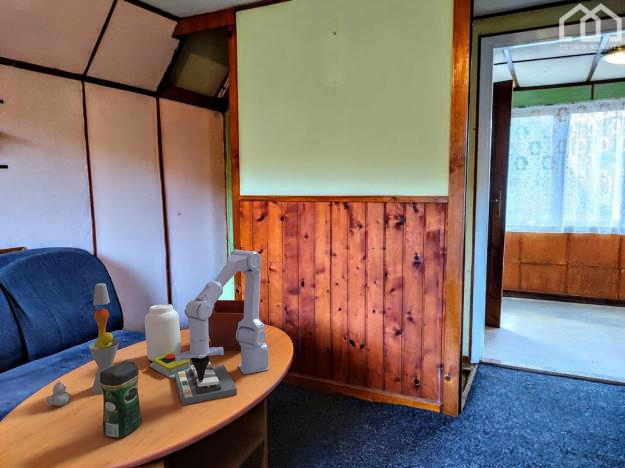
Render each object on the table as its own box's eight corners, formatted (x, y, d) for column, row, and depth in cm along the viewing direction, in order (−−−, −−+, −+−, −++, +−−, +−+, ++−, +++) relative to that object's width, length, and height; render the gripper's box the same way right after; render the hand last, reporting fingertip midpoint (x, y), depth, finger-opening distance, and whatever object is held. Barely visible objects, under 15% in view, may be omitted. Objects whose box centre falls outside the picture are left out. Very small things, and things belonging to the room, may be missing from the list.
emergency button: (171, 347, 163) (194, 358, 154) (171, 358, 164) (195, 370, 155) (148, 354, 156) (172, 367, 147) (149, 366, 157) (172, 379, 147)
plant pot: (251, 354, 170) (250, 312, 168) (203, 353, 170) (202, 312, 168) (258, 337, 189) (257, 299, 187) (215, 336, 189) (214, 299, 187)
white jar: (161, 364, 158) (157, 310, 156) (140, 359, 165) (136, 307, 163) (188, 353, 168) (184, 303, 167) (168, 349, 175) (164, 301, 174)
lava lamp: (84, 391, 139) (78, 286, 135) (106, 379, 147) (101, 280, 143) (106, 396, 136) (100, 288, 132) (127, 383, 144) (122, 282, 140)
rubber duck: (73, 403, 131) (72, 378, 130) (50, 413, 126) (48, 387, 125) (65, 398, 134) (63, 374, 133) (42, 407, 129) (40, 382, 128)
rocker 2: (212, 372, 145) (213, 369, 145) (214, 376, 142) (215, 373, 142) (193, 372, 142) (194, 369, 142) (195, 377, 139) (195, 373, 139)
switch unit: (223, 369, 155) (223, 360, 155) (237, 394, 137) (236, 383, 136) (174, 378, 148) (174, 368, 148) (181, 405, 130) (181, 393, 130)
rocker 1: (209, 362, 151) (208, 359, 151) (211, 366, 148) (210, 363, 147) (191, 368, 148) (190, 365, 148) (192, 372, 145) (191, 369, 145)
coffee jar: (124, 417, 123) (121, 356, 121) (146, 423, 120) (143, 360, 118) (97, 436, 114) (93, 369, 112) (120, 442, 111) (116, 374, 109)
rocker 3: (216, 379, 139) (216, 376, 139) (219, 384, 136) (219, 380, 136) (196, 381, 136) (196, 378, 136) (198, 386, 133) (198, 383, 133)
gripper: (176, 345, 127) (178, 389, 129) (225, 338, 133) (226, 380, 134) (174, 338, 133) (175, 379, 135) (220, 331, 139) (221, 371, 141)
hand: (200, 379), depth 135 cm, fingers closed
